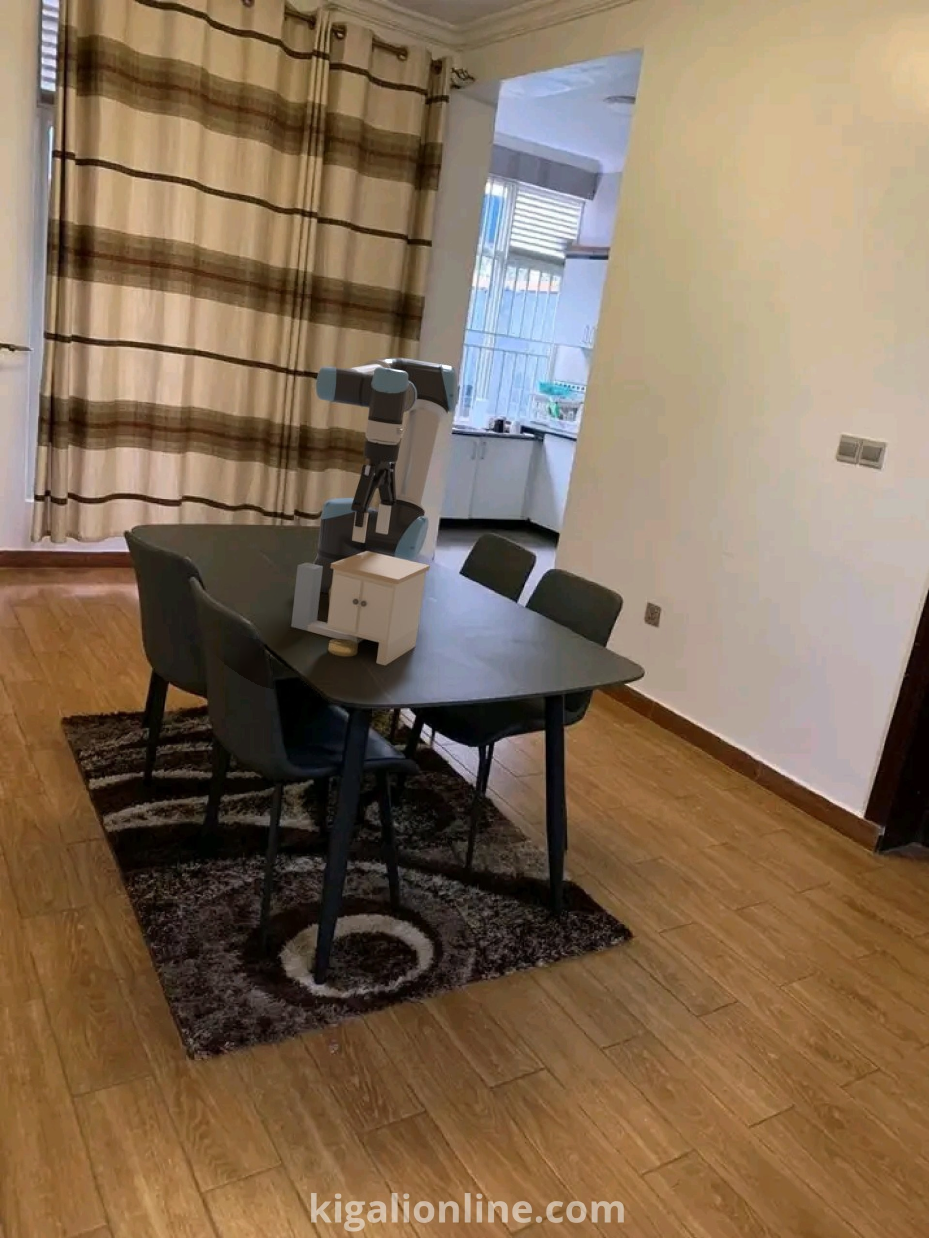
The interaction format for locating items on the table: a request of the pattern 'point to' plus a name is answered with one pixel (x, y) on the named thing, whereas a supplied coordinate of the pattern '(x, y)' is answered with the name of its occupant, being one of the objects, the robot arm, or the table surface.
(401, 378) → the robot arm
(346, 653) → the token
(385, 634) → the cabinet
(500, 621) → the table surface
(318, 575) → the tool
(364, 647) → the table surface
